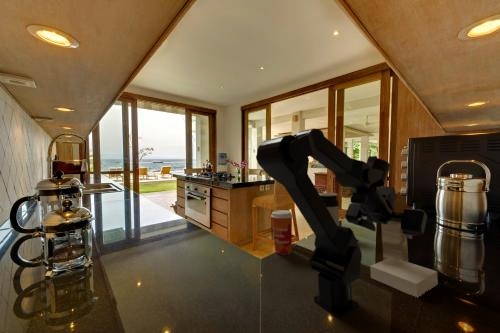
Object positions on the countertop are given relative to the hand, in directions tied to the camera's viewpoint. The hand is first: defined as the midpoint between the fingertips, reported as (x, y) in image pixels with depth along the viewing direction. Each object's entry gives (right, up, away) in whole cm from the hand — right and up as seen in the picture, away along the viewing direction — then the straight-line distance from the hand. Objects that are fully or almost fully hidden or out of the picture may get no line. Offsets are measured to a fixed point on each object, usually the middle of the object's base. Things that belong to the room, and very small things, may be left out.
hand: (391, 233), depth 60 cm
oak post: (+1, -9, 0) cm, 9 cm away
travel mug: (-8, -10, +26) cm, 29 cm away
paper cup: (-30, -11, +12) cm, 34 cm away
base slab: (-4, -9, -9) cm, 13 cm away
